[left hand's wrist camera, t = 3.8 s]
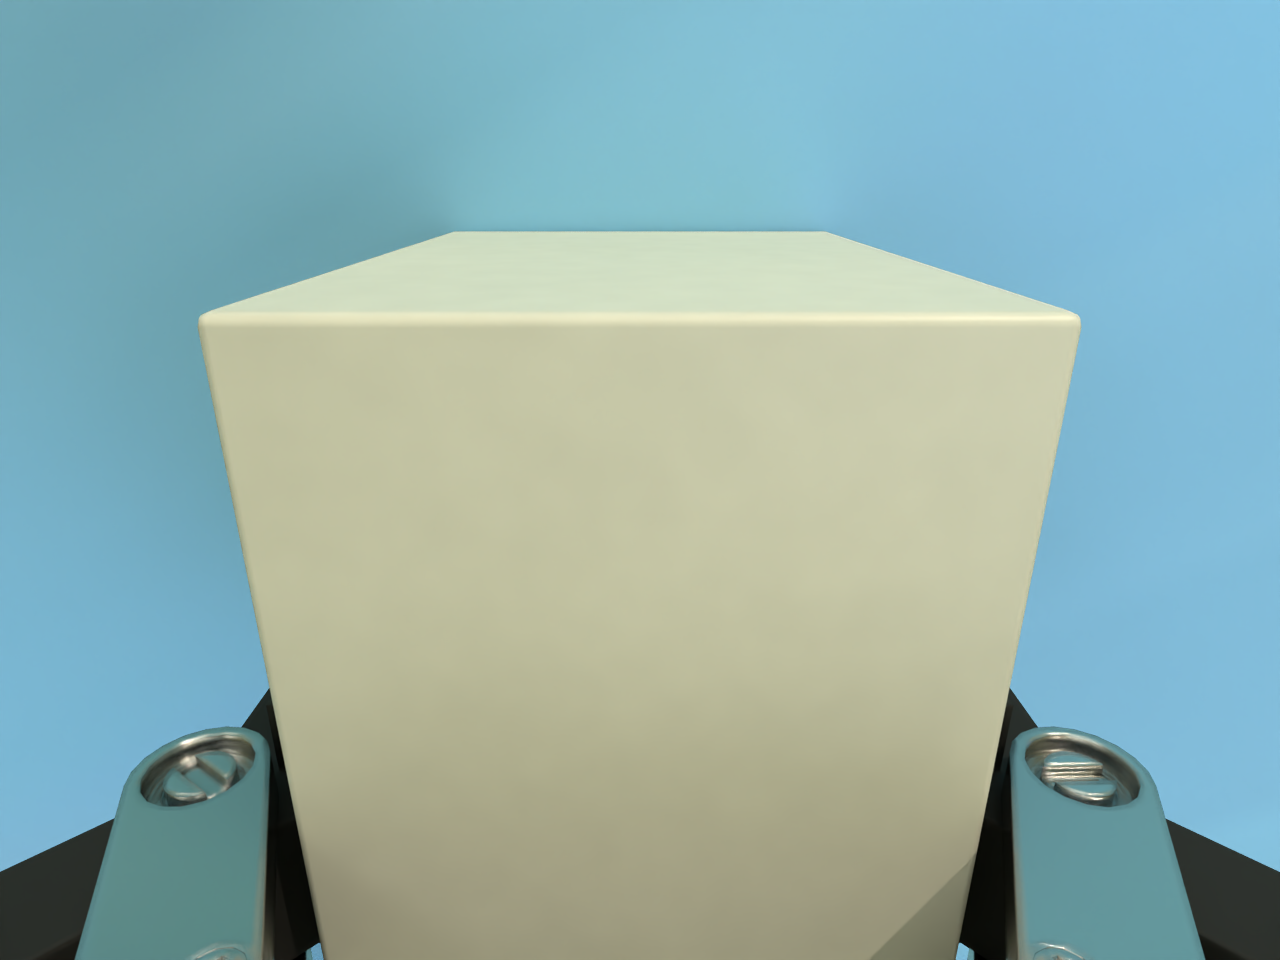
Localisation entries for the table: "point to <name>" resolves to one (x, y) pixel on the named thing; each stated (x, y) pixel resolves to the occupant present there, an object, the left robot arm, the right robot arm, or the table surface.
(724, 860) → the block
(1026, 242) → the table surface
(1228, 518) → the table surface
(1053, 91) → the table surface
